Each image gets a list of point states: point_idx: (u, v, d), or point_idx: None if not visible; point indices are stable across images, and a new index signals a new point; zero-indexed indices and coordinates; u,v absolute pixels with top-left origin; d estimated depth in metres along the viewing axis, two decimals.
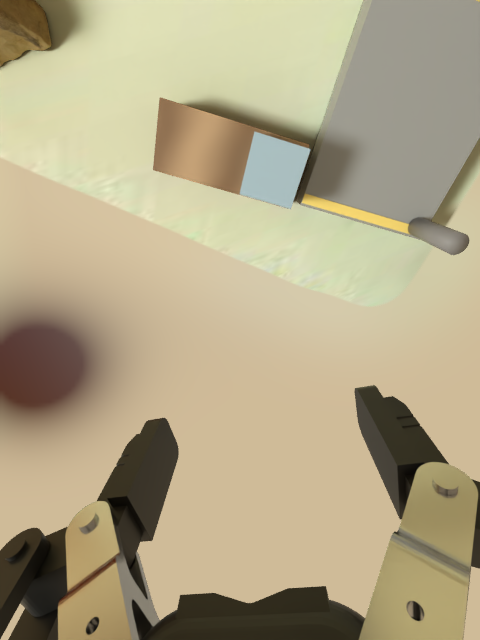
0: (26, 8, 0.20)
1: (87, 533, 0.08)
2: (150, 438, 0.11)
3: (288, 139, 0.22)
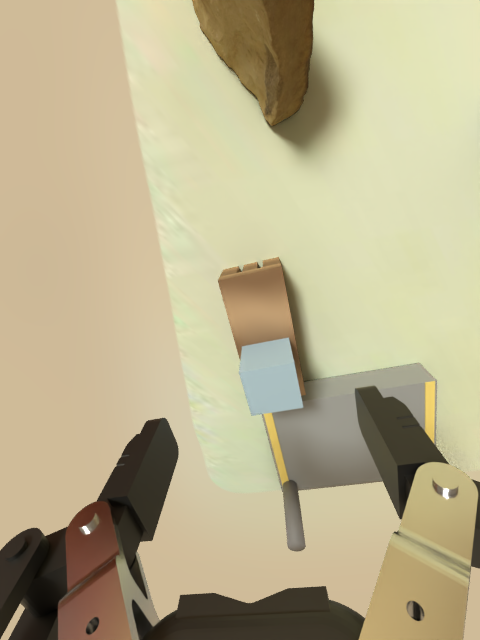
0: (293, 101, 0.19)
1: (87, 533, 0.08)
2: (150, 438, 0.11)
3: (301, 379, 0.25)
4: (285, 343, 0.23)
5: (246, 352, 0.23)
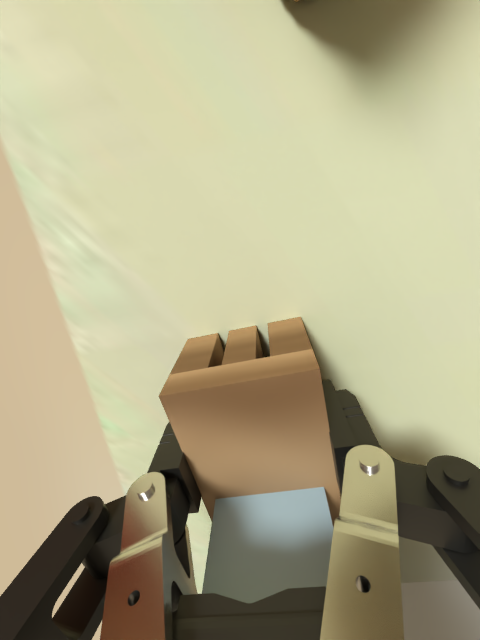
0: None
1: (147, 499, 0.08)
2: None
3: None
4: (319, 514, 0.09)
5: (222, 530, 0.09)
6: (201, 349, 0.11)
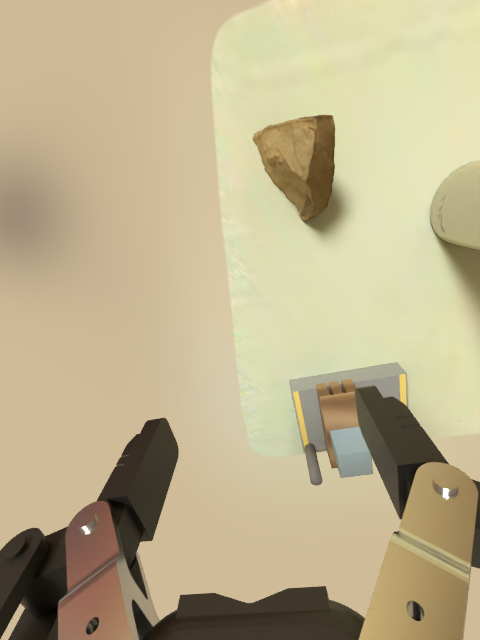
0: (318, 211, 0.33)
1: (87, 533, 0.08)
2: (150, 438, 0.11)
3: None
4: (359, 432, 0.37)
5: (334, 436, 0.38)
6: (323, 388, 0.39)
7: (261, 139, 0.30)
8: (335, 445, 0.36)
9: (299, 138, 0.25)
